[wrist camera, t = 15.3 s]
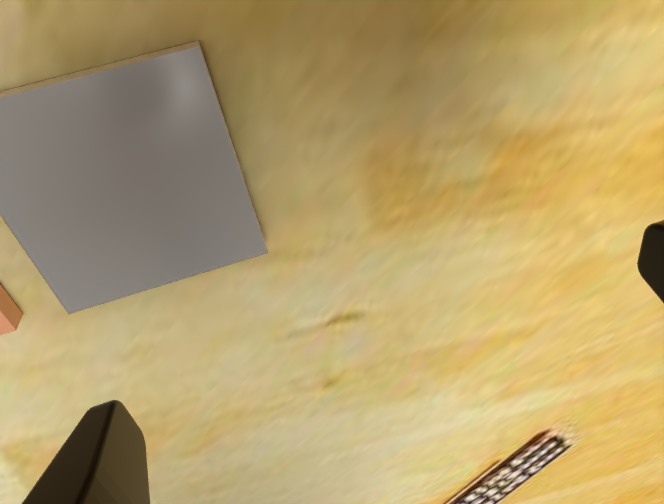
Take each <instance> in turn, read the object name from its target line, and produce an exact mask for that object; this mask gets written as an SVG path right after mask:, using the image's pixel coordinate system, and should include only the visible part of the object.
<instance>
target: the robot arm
mask: <svg viewBox="0 0 664 504" xmlns="http://www.w3.org/2000/svg"><path fill="white" fill-rule="evenodd" d="M637 264H638V270H639V272H640V274H641V276H642V277H643V279H644V280H645V281H646V282H647V284H648V285H649V286H650V287H651V288H652V290H653V291H654V292H655V293H656V294H657V296H658V297H659V298H660V299H661V300H662V302H663V303H664V220H662V221H659V222H656V223H653V224H651V225H649V226H648V227H647V228H646V229H645V231H644V235H643V239H642V244H641V248H640V253H639V257H638V263H637ZM22 504H150V496H149V483H148V470H147V458H146V445H145V440H144V436H143V433H142V431H141V429H140V428H139V426H138V425H137V424H136V422H135V421H134V419H133V418H132V416H131V415H130V414H129V412H128V411H127V409H126V408H125V406H124V405H123V404H122V403H121V402H120V401H118V400H112V401H109V402H106V403H103V404H100V405H97V406H94V407H92V408H90V409H89V410H88V411H87V412H86V413H85V415H84V416H83V418H82V419H81V420H80V422H79V423H78V425H77V426H76V428H75V429H74V430H73V432H72V433H71V435H70V436H69V437H68V439H67V440H66V442H65V443H64V445H63V446H62V447H61V449H60V450H59V452H58V453H57V454H56V456H55V457H54V459H53V460H52V462H51V463H50V464H49V466H48V467H47V469H46V470H45V472H44V473H43V474H42V476H41V477H40V479H39V480H38V481H37V483H36V484H35V486H34V487H33V489H32V490H31V491H30V493H29V494H28V496H27V497H26V499H25V500H24V501H23V503H22Z"/></svg>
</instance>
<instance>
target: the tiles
mask: <svg viewBox="0 0 664 504" xmlns="http://www.w3.org/2000/svg"><path fill="white" fill-rule="evenodd" d="M0 215H1V217H2V218H3V220H4V221H5V223H6V224H7V226H8V227H9V228H10V230H11V231H12V233H13V234H14V236H15V237H16V239H17V240H18V242H19V243H20V244H21V246H22V247H23V249H24V250H25V252H26V253H27V255H28V256H29V257H30V259H31V260H32V262H33V263H34V265H35V266H36V268H37V269H38V271H39V272H40V273H41V275H42V276H43V278H44V279H45V281H46V282H47V284H48V285H49V287H50V288H51V289H52V291H53V292H54V294H55V295H56V297H57V298H58V300H59V301H60V302H61V304H62V305H63V307H64V308H65V310H66V311H67V313H68V314H70V313H74V312H77V311H80V310H83V309H87V308H90V307H93V306H96V305H100V304H103V303H106V302H109V301H113V300H116V299H119V298H122V297H126V296H129V295H132V294H135V293H139V292H142V291H145V290H148V289H152V288H155V287H158V286H161V285H165V284H168V283H171V282H174V281H178V280H181V279H184V278H187V277H191V276H194V275H197V274H201V273H204V272H207V271H210V270H214V269H217V268H220V267H223V266H227V265H230V264H233V263H236V262H240V261H243V260H246V259H249V258H253V257H256V256H259V255H262V254H266V253H268V251H267V247H266V244H265V240H264V237H263V234H262V231H261V228H260V225H259V222H258V219H257V216H256V213H255V210H254V207H253V204H252V201H251V198H250V195H249V192H248V189H247V186H246V183H245V180H244V176H243V173H242V170H241V167H240V164H239V161H238V158H237V155H236V152H235V149H234V146H233V143H232V140H231V137H230V134H229V131H228V128H227V125H226V122H225V119H224V116H223V113H222V110H221V107H220V104H219V101H218V98H217V95H216V92H215V89H214V86H213V83H212V80H211V77H210V74H209V71H208V68H207V65H206V62H205V59H204V55H203V52H202V49H201V46H200V43H199V40H198V41H195V42H191V43H187V44H183V45H179V46H175V47H171V48H168V49H164V50H160V51H156V52H152V53H148V54H144V55H140V56H137V57H133V58H129V59H125V60H121V61H117V62H113V63H110V64H106V65H102V66H98V67H94V68H90V69H86V70H82V71H79V72H75V73H71V74H67V75H63V76H59V77H55V78H52V79H48V80H44V81H40V82H36V83H32V84H28V85H24V86H21V87H17V88H13V89H9V90H5V91H1V92H0ZM22 315H23V313H22V312H21V310H20V309H19V308H18V307H17V305H16V304H15V303H14V301H13V300H12V299H11V297H10V296H9V295H8V293H7V292H6V291H5V290H4V288H3V287H2V286H1V284H0V335H2V334H5V333H9V332H12V331H15V330H16V329H17V327H18V324H19V322H20V320H21V317H22Z"/></svg>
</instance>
